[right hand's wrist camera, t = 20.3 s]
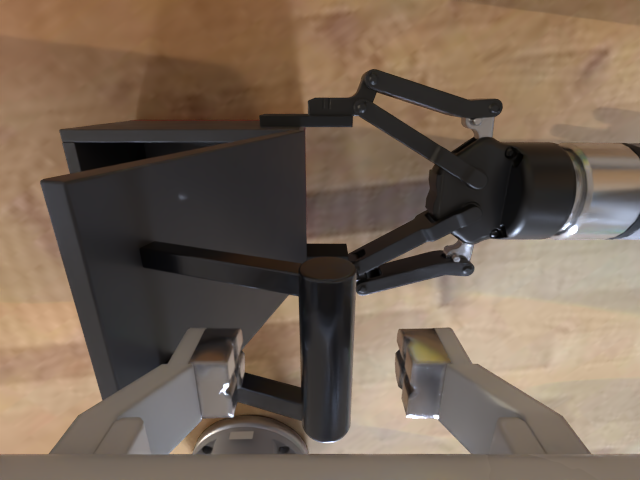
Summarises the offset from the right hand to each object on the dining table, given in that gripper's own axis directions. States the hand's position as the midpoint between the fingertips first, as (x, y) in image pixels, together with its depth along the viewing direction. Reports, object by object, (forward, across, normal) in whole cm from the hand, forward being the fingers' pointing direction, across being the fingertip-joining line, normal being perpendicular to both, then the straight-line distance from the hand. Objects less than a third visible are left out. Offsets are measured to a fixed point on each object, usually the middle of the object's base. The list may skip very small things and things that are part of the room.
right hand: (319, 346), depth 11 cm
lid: (+8, +4, 0) cm, 9 cm away
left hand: (+19, +4, 0) cm, 20 cm away
